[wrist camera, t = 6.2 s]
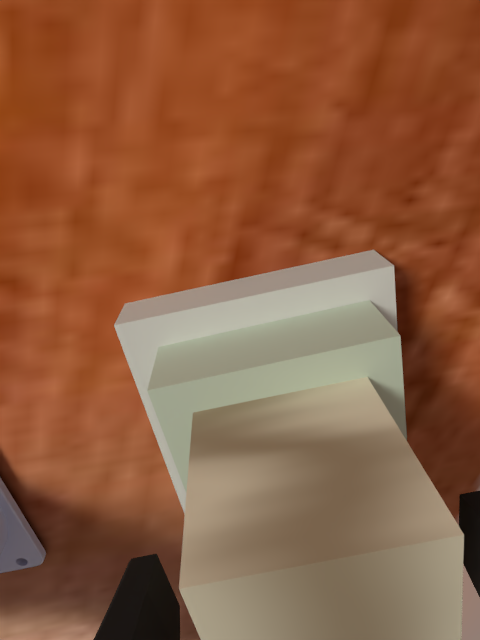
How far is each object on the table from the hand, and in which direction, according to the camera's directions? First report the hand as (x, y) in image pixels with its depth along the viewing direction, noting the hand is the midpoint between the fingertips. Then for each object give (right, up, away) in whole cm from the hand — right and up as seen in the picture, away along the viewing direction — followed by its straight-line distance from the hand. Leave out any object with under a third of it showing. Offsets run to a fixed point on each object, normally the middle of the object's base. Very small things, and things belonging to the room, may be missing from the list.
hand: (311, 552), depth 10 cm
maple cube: (0, +1, +3) cm, 3 cm away
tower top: (0, +2, +5) cm, 6 cm away
